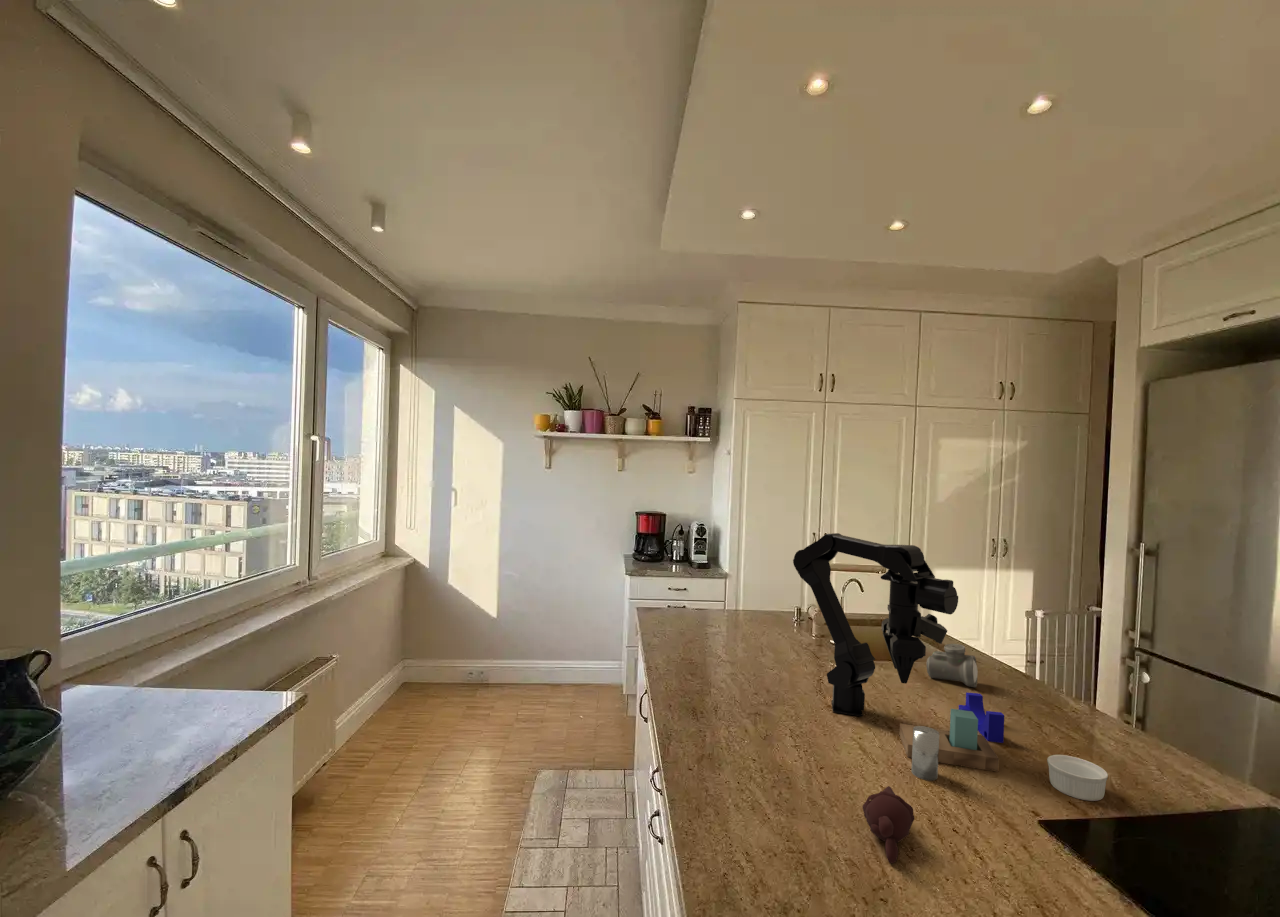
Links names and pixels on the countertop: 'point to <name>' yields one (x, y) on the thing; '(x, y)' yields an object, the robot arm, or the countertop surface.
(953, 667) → the pipe fitting
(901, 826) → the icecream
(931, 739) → the round peg
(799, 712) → the countertop surface
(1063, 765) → the ramekin
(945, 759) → the socket board
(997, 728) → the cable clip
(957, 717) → the square peg
